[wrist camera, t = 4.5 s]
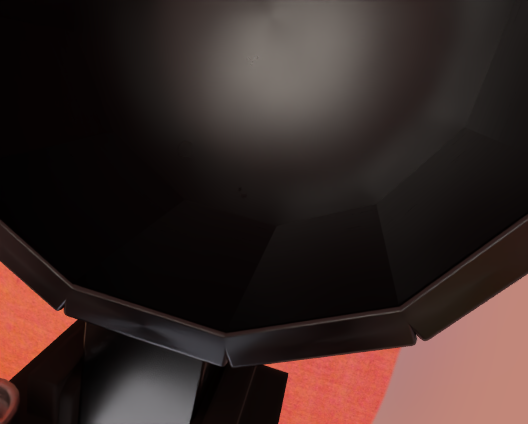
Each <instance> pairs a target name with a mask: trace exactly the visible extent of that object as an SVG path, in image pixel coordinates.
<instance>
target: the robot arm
mask: <svg viewBox="0 0 528 424" xmlns="http://www.w3.org/2000/svg"><path fill="white" fill-rule="evenodd" d="M84 332H85V322H84V321H81V320H77V321H76V322H75V323H73V324H72V325H71V326H70V327H69V328H68V329H67V330H66V331H65V332H63V333H62V334H61V335H60V336H59V337H58V338H57V339H56V340H54V341H53V342H52V343H51V344H50V345H49V346H48V347H47V348H45V349H44V350H43V351H42V352H41V353H40V354H39V355H38V356H37V357H35V358H34V359H33V360H32V361H31V362H30V363H29V364H28V365H26V366H25V367H24V368H23V369H22V370H21V371H20V372H19V373H17V374H16V375H15V376H14V377H13V378H12V379H11V380H10V381H7V380H5V379H2V378H0V424H78V412H79V400H80V387H81V369H82V357H83V344H84ZM287 378H288V373H286V372H283V371H280V370H277V369H274V368H271V367H268V366H265V365H257V366H249V367H241V368H232V367H231V366H230V364H229V361H228V362H227V364H226V365H225V366H224V367H220V366H218V369H217V371H216V373H215V375H214V378H213V380H212V382H211V384H210V386H209V389H208V391H207V393H206V395H205V397H204V400H203V402H202V404H201V406H200V409H199V411H198V413H197V415H196V418H195V419H193V420H191V422H190V424H278V422H279V417H280V413H281V408H282V403H283V398H284V393H285V388H286V383H287Z"/></svg>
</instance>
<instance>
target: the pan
mask: <svg viewBox="0 0 528 424" xmlns="http://www.w3.org/2000/svg"><path fill="white" fill-rule="evenodd" d="M0 261H1V262H2V263H3V264H4V265H5V266H6V267H7V268H8V269H10V270H11V271H12V272H13V273H14V274H15V275H16V276H18V277H19V278H20V279H21V280H22V281H23V282H24V283H25V284H27V285H28V286H29V287H30V288H31V289H32V290H33V291H34V292H36V293H37V294H38V295H39V296H40V297H41V298H42V299H43V300H45V301H46V302H47V303H48V304H49V305H50V306H51V307H53V308H54V309H55V310H57V311H59V310H61V309H63V308H64V314H65V315H67V316H69V317H72V318H75V319H78V320H81V321H84V322H85V332H84V344H83V357H82V369H81V387H80V400H79V412H78V424H190V422H191V420H193V419H195V418H196V415H197V413H198V411H199V409H200V406H201V404H202V402H203V400H204V397H205V395H206V393H207V391H208V389H209V386H210V384H211V382H212V380H213V378H214V375H215V373H216V371H217V369H218V366H220V367H224V366H225V365H226V364H227V362H228V361H229V364H230V366H231V367H232V368H241V367H249V366H257V365H264V364H272V363H280V362H288V361H296V360H304V359H312V358H320V357H327V356H335V355H343V354H351V353H359V352H367V351H375V350H383V349H390V348H398V347H406V346H413V345H415V344H416V340H417V337H416V335H417V336H418V337H419V338H420V339H422V340H423V341H427V340H429V339H431V338H432V337H434V336H435V335H437V334H438V333H440V332H441V331H443V330H444V329H446V328H447V327H449V326H450V325H452V324H453V323H455V322H456V321H458V320H459V319H461V318H462V317H464V316H465V315H467V314H468V313H470V312H471V311H473V310H474V309H476V308H477V307H479V306H480V305H482V304H483V303H485V302H486V301H488V300H489V299H490V298H492V297H494V296H495V295H496V294H498V293H500V292H501V291H503V290H504V289H506V288H507V287H509V286H510V285H512V284H513V283H515V282H516V281H517V280H519V279H521V278H522V277H524V276H525V275H527V274H528V0H0Z"/></svg>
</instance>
